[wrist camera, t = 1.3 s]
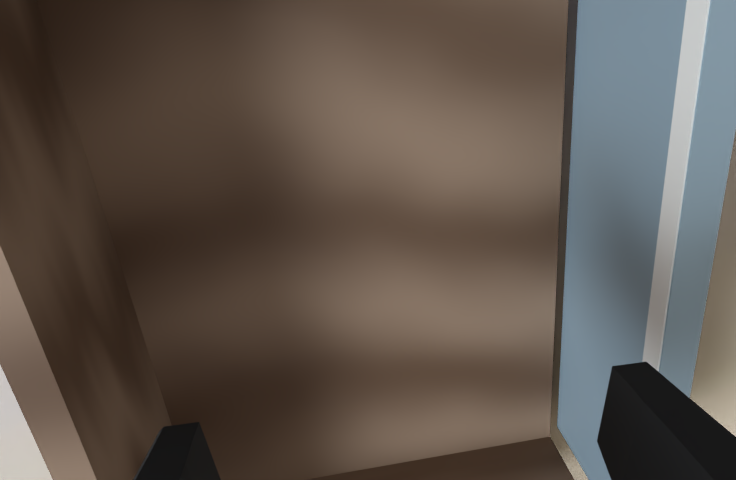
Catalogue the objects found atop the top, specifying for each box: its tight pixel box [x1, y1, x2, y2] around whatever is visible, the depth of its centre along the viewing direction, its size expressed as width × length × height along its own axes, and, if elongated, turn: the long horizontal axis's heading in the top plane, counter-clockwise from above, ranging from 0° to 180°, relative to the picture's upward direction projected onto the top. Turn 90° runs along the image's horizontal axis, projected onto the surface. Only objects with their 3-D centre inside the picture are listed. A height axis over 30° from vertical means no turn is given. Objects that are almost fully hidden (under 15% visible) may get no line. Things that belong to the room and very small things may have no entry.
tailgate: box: [557, 0, 736, 480], centre depth 18 cm, size 20×1×6 cm, turn 6°
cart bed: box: [0, 0, 574, 480], centre depth 17 cm, size 25×16×7 cm, turn 6°
